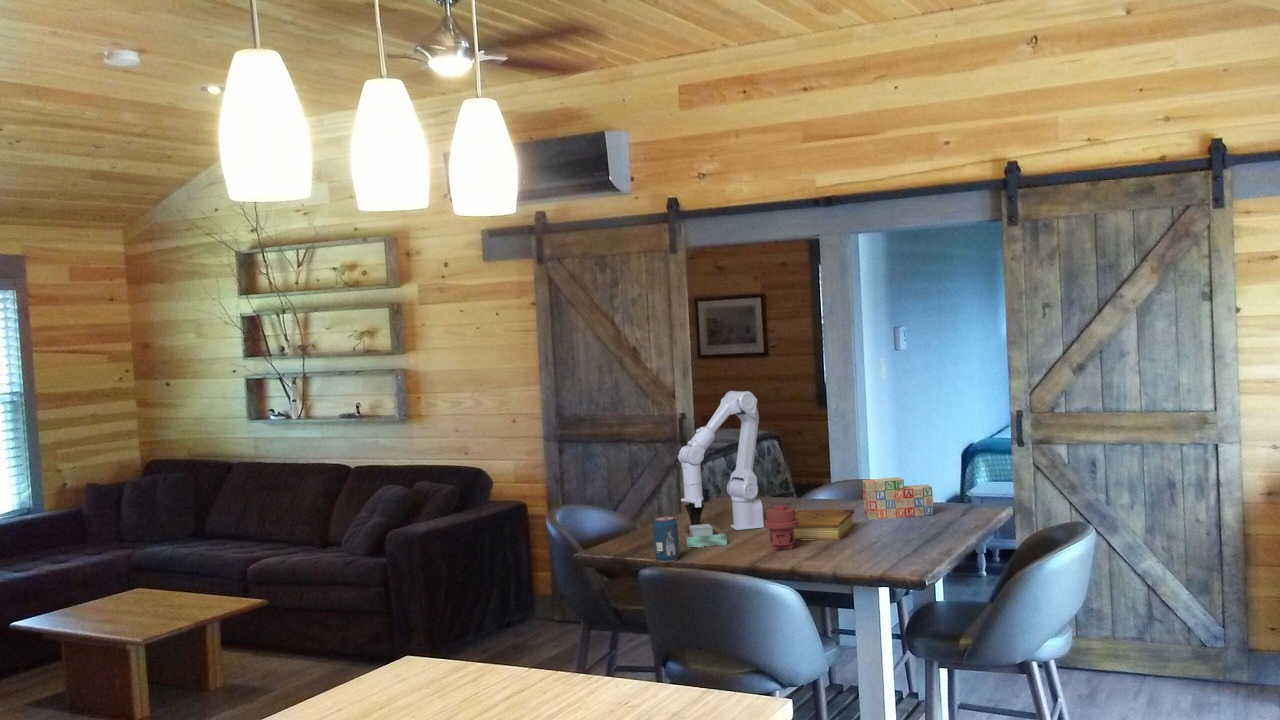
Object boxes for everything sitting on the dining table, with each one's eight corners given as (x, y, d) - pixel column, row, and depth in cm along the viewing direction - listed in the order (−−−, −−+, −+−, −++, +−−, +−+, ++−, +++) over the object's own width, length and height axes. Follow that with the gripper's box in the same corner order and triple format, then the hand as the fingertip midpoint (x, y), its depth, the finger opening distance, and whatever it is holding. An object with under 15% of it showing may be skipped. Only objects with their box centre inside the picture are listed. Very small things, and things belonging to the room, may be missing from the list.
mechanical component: (805, 549, 324) (773, 553, 321) (792, 543, 334) (760, 547, 331) (803, 506, 324) (770, 510, 321) (789, 502, 333) (757, 505, 331)
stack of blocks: (929, 512, 370) (927, 475, 370) (934, 515, 364) (931, 477, 364) (864, 516, 371) (861, 479, 370) (867, 519, 364) (865, 481, 364)
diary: (796, 527, 362) (795, 509, 362) (855, 528, 355) (854, 509, 355) (778, 541, 340) (777, 522, 340) (840, 542, 333) (838, 522, 333)
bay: (707, 528, 367) (707, 519, 367) (727, 544, 339) (726, 534, 339) (671, 532, 365) (670, 523, 365) (687, 548, 337) (687, 538, 337)
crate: (710, 539, 349) (708, 523, 349) (713, 543, 343) (712, 527, 343) (690, 541, 348) (689, 525, 348) (693, 545, 342) (692, 528, 342)
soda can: (665, 556, 327) (662, 515, 327) (684, 558, 323) (681, 516, 323) (650, 561, 322) (647, 519, 322) (669, 563, 318) (666, 520, 317)
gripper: (676, 482, 362) (679, 524, 362) (684, 488, 347) (687, 532, 348) (697, 480, 363) (700, 522, 363) (706, 486, 348) (709, 529, 349)
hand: (695, 526), depth 355 cm, fingers closed
